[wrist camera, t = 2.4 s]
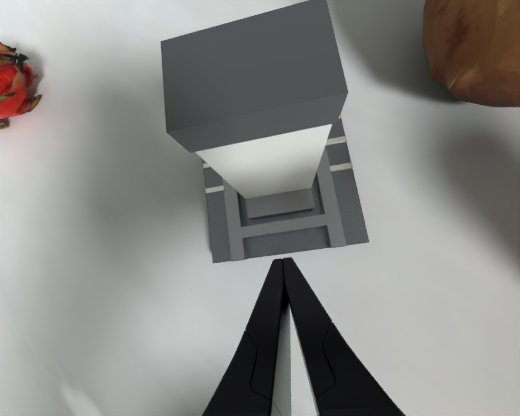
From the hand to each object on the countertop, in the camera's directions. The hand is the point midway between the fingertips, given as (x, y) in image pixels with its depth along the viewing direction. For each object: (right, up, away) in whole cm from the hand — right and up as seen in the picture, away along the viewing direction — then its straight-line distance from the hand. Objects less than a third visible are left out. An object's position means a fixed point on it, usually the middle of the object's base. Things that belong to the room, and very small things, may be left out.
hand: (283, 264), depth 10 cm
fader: (0, +5, +8) cm, 9 cm away
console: (0, +7, +9) cm, 11 cm away
